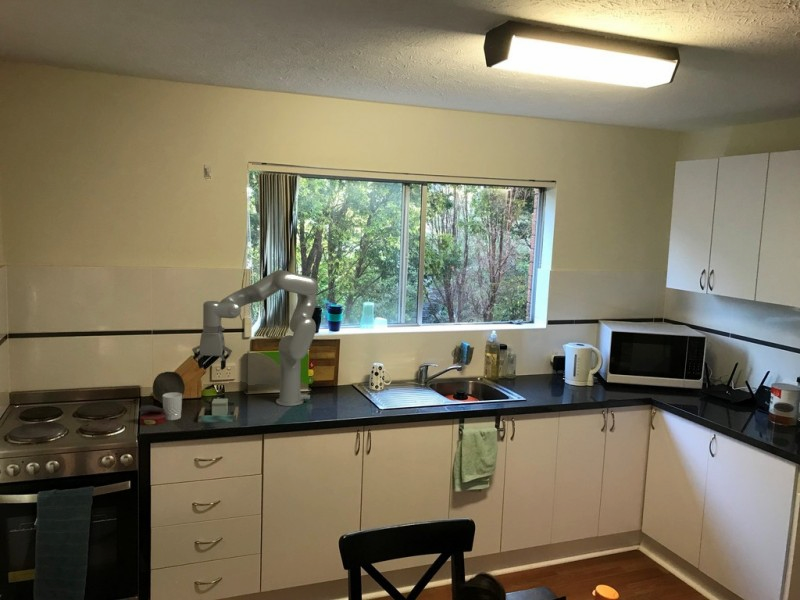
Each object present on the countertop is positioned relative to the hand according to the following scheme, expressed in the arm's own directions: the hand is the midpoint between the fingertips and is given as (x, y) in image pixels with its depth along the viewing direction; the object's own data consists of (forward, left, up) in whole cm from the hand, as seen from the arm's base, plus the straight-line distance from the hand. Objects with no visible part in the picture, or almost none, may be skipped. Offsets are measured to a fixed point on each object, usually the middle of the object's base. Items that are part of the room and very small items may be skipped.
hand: (212, 368), depth 280 cm
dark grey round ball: (+20, -12, -20) cm, 31 cm away
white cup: (+15, +8, -20) cm, 26 cm away
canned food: (+22, +13, -20) cm, 32 cm away
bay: (-4, +8, -19) cm, 21 cm away
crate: (-4, +3, -20) cm, 20 cm away
